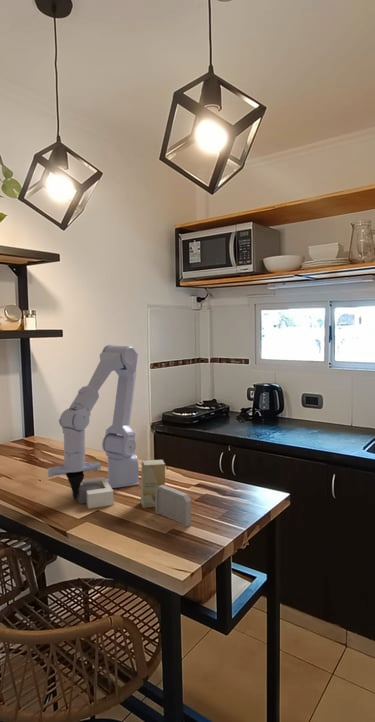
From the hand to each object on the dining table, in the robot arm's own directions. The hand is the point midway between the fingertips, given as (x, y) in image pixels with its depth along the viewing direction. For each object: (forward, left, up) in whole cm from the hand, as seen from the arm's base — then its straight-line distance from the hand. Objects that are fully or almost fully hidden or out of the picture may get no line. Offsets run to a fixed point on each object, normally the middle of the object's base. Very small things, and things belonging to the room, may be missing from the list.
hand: (74, 497), depth 128 cm
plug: (-4, 0, -1) cm, 4 cm away
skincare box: (-20, +10, -1) cm, 23 cm away
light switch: (-22, +21, -1) cm, 31 cm away
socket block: (-6, 0, -1) cm, 6 cm away
